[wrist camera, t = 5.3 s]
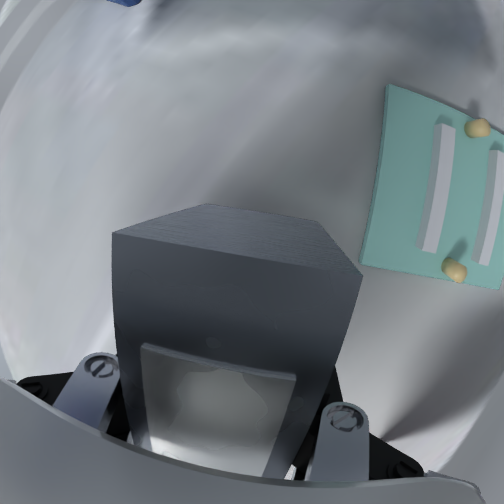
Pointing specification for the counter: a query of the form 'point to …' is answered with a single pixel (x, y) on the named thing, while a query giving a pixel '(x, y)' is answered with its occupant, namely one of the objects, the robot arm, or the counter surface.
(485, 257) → the docking tray
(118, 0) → the electronic device
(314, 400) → the block
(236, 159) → the counter surface
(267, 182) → the counter surface
